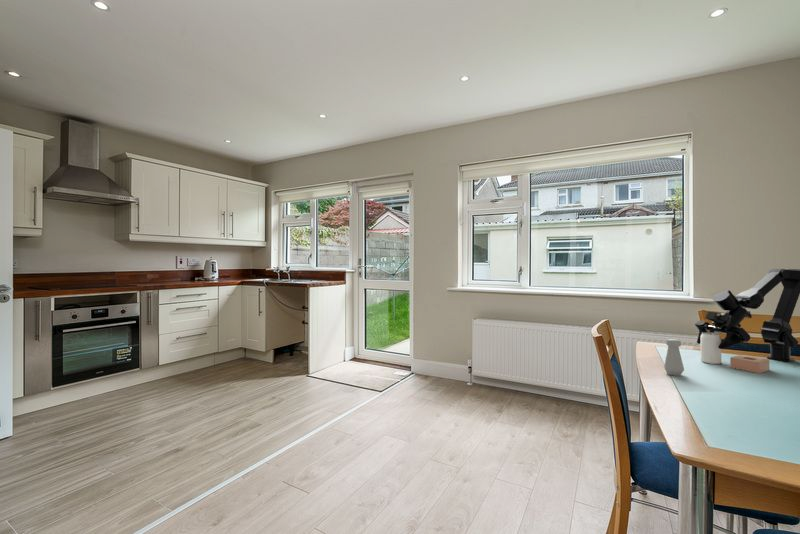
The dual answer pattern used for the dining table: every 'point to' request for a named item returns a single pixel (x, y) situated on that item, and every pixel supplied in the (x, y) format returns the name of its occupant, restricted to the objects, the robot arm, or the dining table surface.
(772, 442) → the dining table surface
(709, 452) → the dining table surface
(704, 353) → the can
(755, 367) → the peach block
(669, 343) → the salt shaker
